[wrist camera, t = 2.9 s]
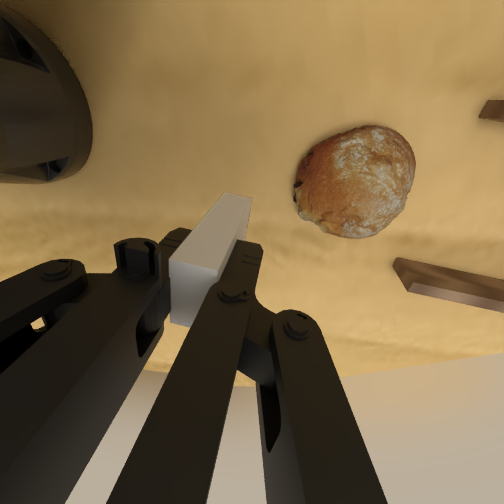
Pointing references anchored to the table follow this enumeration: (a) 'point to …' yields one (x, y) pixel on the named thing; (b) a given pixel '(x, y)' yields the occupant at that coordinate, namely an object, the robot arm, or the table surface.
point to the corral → (453, 281)
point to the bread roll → (355, 181)
